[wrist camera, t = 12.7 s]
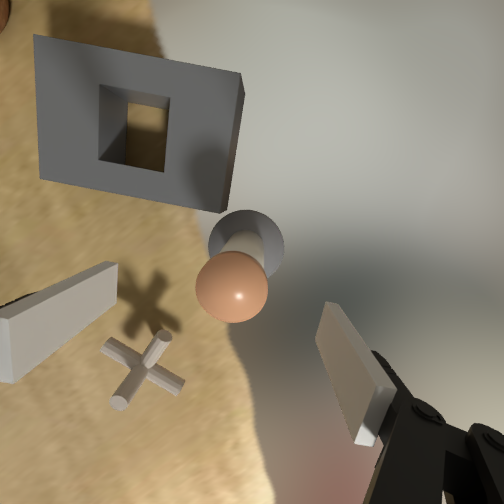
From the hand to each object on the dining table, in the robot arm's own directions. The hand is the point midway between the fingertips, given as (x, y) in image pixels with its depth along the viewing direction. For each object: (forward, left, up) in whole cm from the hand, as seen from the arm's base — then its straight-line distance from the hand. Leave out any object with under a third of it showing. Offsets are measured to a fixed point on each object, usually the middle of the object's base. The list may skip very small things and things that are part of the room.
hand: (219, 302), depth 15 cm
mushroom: (0, 0, -14) cm, 14 cm away
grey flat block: (-12, +10, -14) cm, 21 cm away
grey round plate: (0, 0, -14) cm, 14 cm away
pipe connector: (-9, -15, -14) cm, 22 cm away
